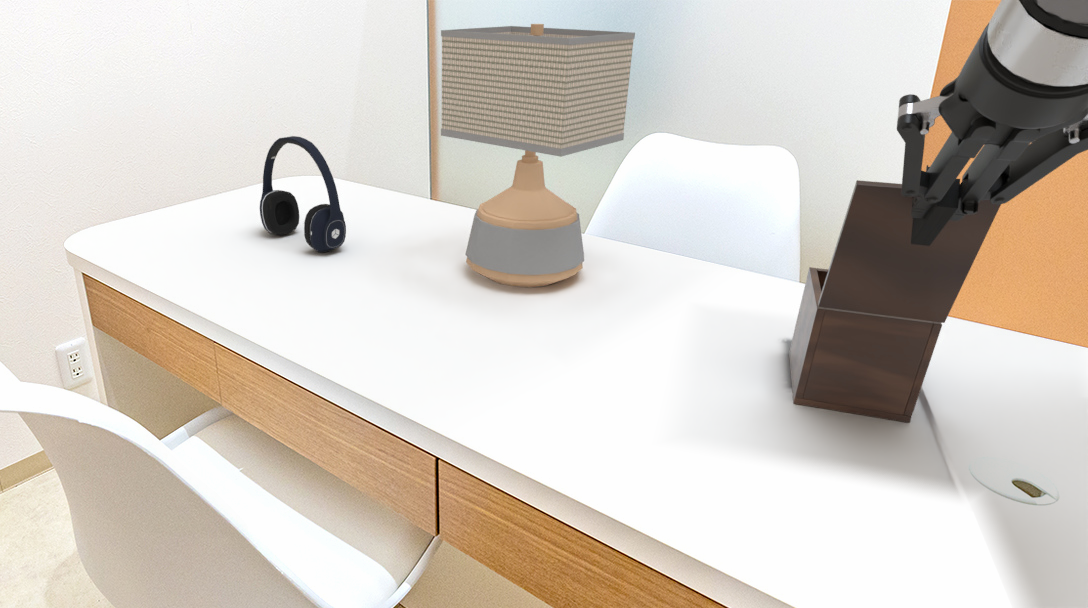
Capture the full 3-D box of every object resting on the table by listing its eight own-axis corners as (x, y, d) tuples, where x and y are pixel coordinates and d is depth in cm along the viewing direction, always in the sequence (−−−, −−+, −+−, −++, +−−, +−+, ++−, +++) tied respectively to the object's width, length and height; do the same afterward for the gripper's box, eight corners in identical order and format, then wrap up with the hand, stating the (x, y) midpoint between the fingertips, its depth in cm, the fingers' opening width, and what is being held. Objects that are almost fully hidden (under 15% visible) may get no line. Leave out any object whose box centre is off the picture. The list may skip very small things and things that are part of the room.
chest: (788, 353, 95) (809, 267, 90) (890, 368, 92) (918, 279, 87) (793, 403, 84) (817, 308, 79) (909, 423, 81) (942, 324, 75)
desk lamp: (613, 273, 121) (641, 24, 104) (544, 307, 108) (563, 30, 92) (507, 244, 134) (517, 19, 117) (434, 271, 121) (433, 23, 104)
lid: (856, 180, 69) (856, 184, 68) (1003, 191, 65) (1005, 196, 65) (818, 302, 79) (818, 306, 78) (943, 318, 75) (944, 323, 75)
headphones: (354, 250, 130) (348, 143, 122) (322, 259, 126) (314, 148, 118) (287, 226, 143) (277, 127, 134) (255, 234, 138) (244, 132, 130)
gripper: (1188, -8, 44) (1008, 201, 66) (936, -11, 48) (844, 188, 69) (1191, 98, 42) (1004, 279, 63) (927, 86, 46) (836, 260, 67)
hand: (921, 231), depth 66 cm, fingers closed
